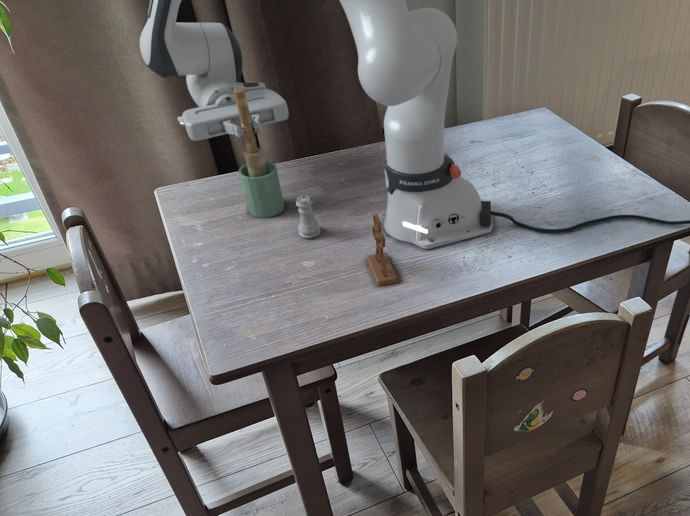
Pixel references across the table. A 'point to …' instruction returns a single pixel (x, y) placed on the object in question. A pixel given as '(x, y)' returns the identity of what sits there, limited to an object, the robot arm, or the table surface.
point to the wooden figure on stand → (380, 258)
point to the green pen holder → (262, 191)
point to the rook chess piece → (307, 218)
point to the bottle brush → (249, 138)
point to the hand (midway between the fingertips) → (249, 131)
